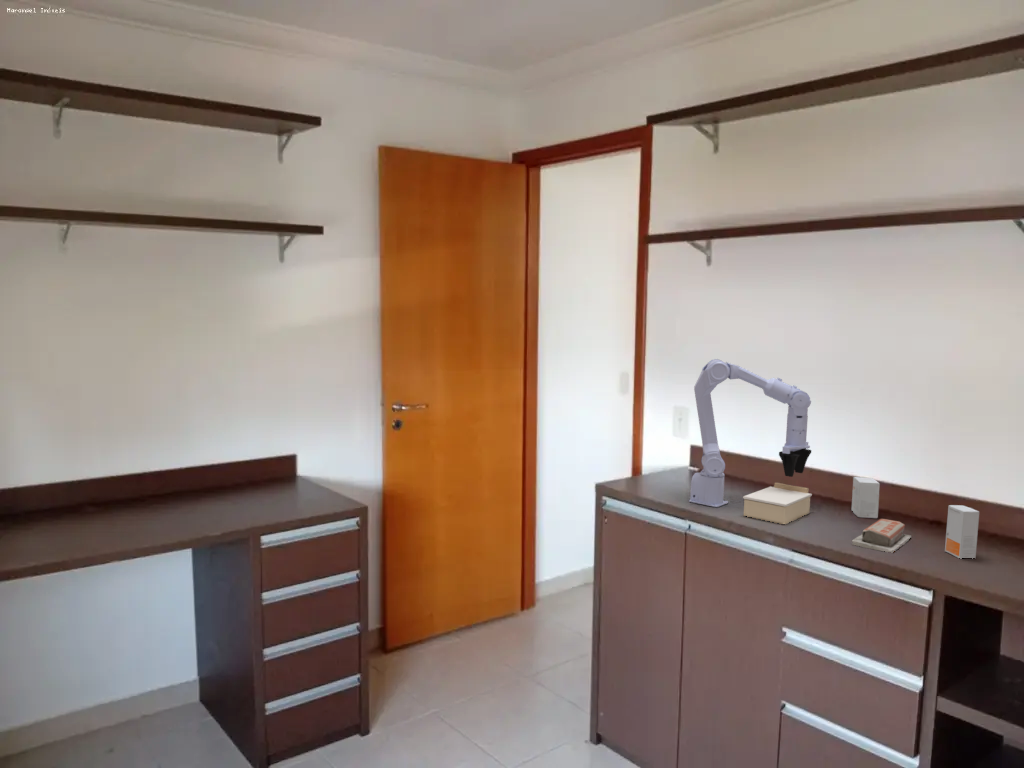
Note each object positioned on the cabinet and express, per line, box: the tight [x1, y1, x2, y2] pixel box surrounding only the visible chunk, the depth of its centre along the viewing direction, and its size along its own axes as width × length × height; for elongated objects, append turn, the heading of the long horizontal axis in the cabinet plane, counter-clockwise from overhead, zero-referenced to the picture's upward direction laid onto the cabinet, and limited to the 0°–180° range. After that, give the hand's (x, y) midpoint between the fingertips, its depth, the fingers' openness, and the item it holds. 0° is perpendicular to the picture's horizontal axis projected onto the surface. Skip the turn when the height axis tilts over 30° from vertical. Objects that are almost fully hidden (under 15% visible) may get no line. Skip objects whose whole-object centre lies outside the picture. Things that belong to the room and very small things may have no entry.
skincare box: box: [944, 504, 980, 560], centre depth 189 cm, size 6×4×12 cm
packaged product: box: [851, 518, 913, 554], centre depth 200 cm, size 18×5×10 cm
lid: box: [742, 482, 813, 507], centre depth 224 cm, size 13×19×2 cm, turn 138°
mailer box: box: [743, 496, 811, 525], centre depth 224 cm, size 12×18×5 cm, turn 138°
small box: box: [851, 476, 881, 519], centre depth 226 cm, size 8×6×10 cm
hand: (794, 474), depth 231 cm, fingers open, 7 cm apart
